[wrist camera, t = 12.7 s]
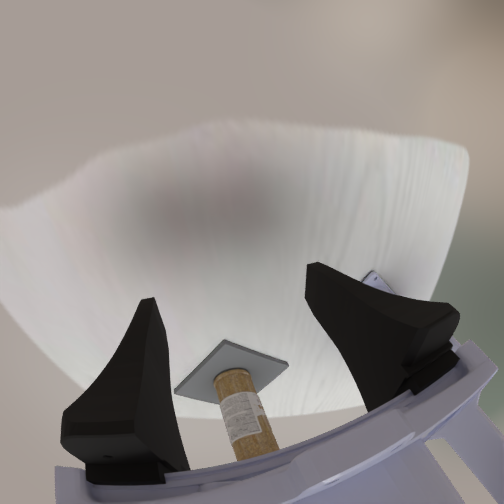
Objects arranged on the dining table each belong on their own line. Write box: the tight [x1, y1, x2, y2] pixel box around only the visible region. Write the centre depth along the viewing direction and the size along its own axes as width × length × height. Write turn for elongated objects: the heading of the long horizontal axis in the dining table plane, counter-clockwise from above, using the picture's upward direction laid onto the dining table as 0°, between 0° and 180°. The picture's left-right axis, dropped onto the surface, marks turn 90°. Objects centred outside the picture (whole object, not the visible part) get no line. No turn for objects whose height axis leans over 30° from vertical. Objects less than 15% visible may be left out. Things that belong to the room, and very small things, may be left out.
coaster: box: [174, 340, 289, 405], centre depth 30 cm, size 10×10×1 cm
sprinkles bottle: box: [213, 369, 280, 461], centre depth 24 cm, size 5×5×14 cm
